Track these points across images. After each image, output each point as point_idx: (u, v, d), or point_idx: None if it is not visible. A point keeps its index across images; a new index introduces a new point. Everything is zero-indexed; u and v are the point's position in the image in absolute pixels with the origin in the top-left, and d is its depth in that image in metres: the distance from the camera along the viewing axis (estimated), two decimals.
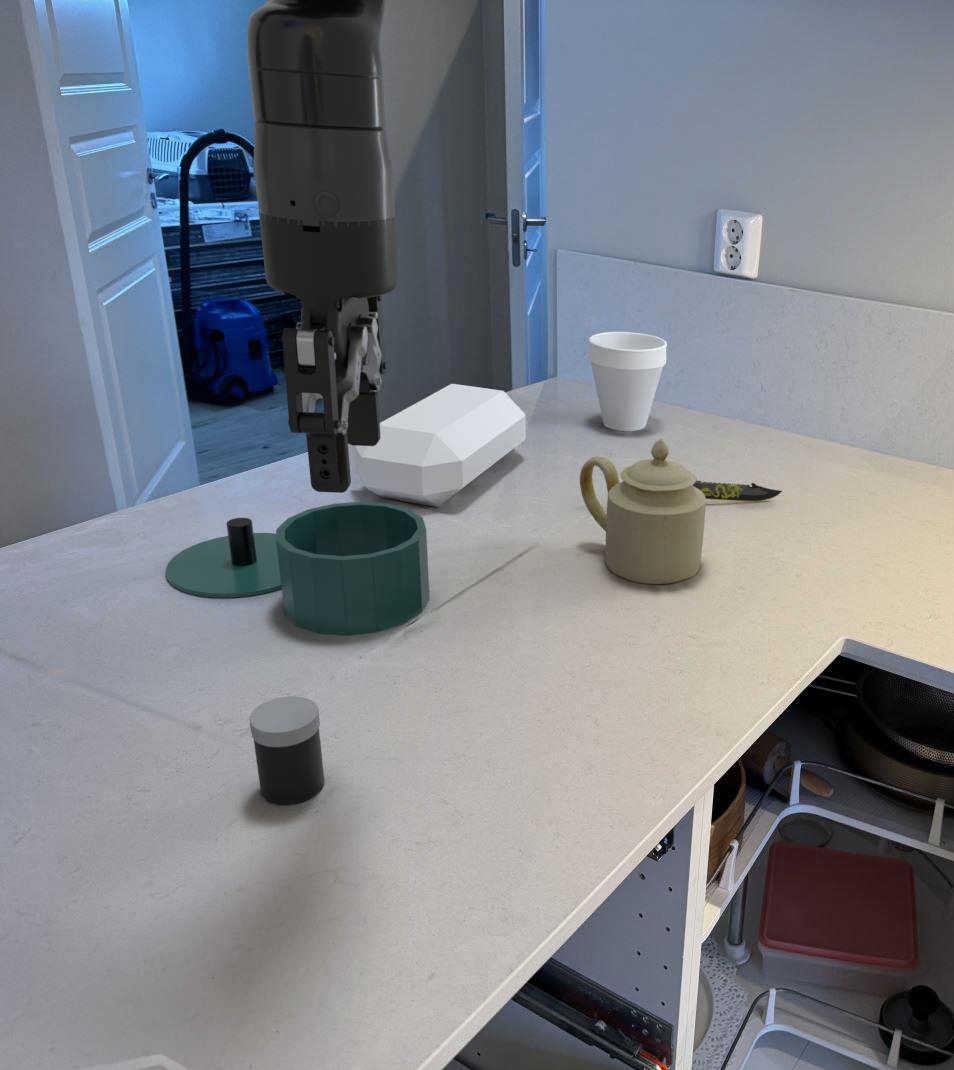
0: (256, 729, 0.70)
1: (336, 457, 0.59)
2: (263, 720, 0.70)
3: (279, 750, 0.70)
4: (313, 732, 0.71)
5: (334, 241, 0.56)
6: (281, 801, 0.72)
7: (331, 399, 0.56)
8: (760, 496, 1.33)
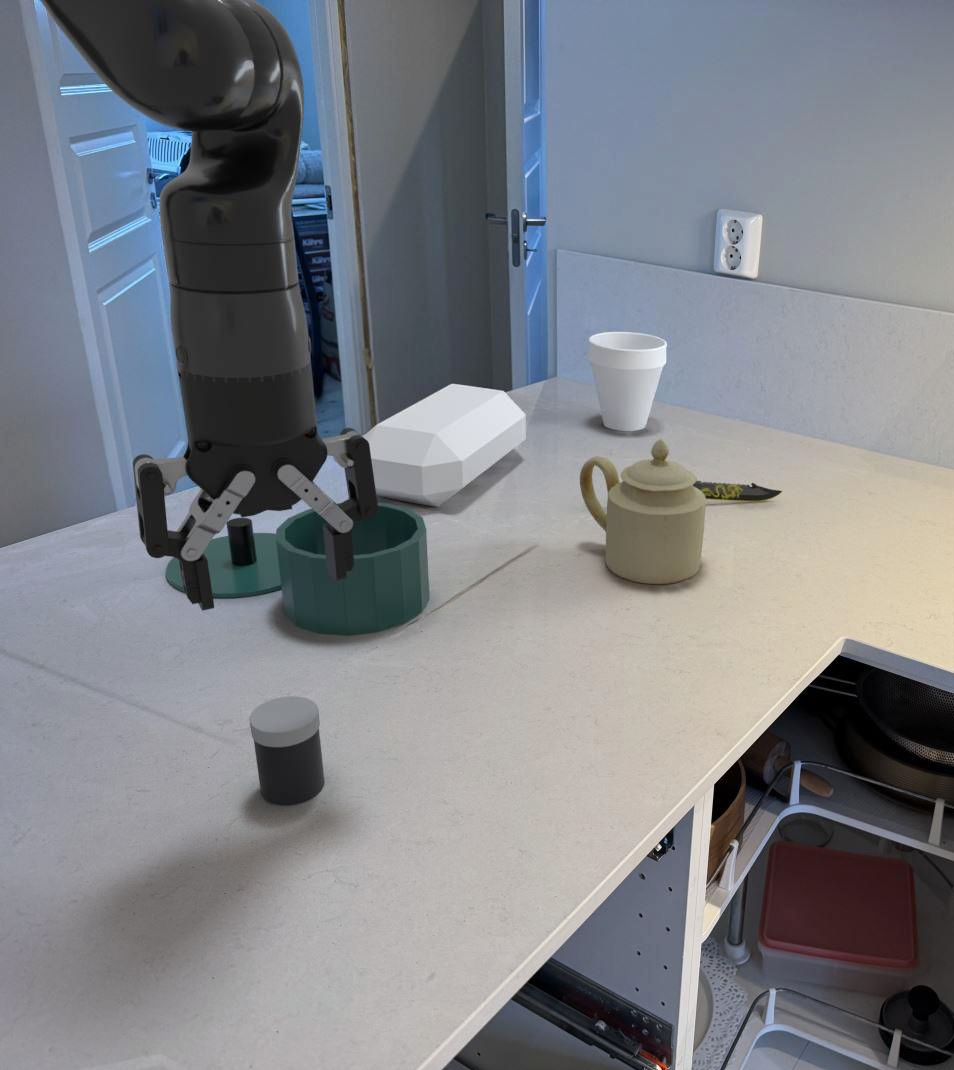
0: (256, 729, 0.70)
1: (186, 577, 0.63)
2: (263, 720, 0.70)
3: (279, 750, 0.70)
4: (313, 732, 0.71)
5: (189, 389, 0.59)
6: (281, 801, 0.72)
7: (145, 526, 0.60)
8: (760, 496, 1.33)
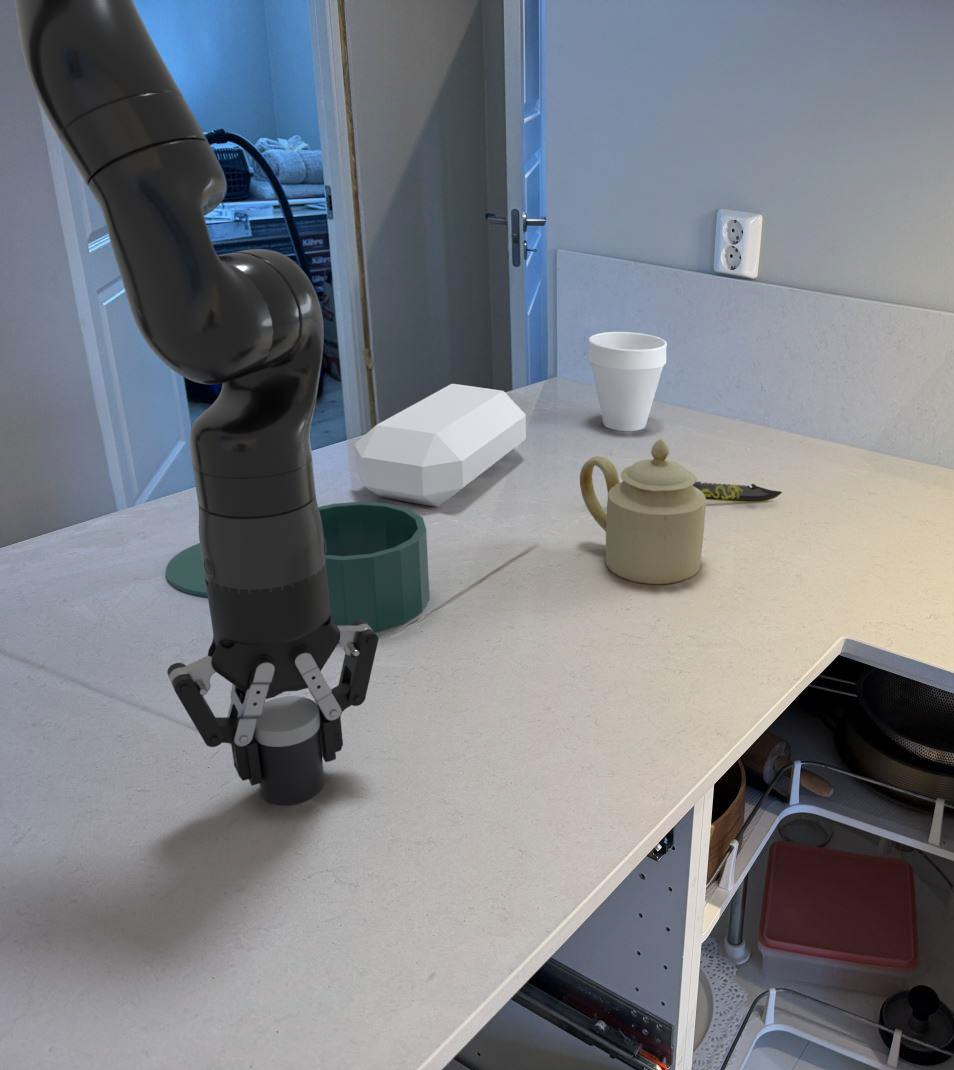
0: (256, 729, 0.70)
1: (238, 759, 0.70)
2: (264, 720, 0.70)
3: (279, 749, 0.70)
4: (313, 732, 0.71)
5: (215, 596, 0.64)
6: (281, 800, 0.72)
7: (196, 726, 0.67)
8: (760, 497, 1.33)
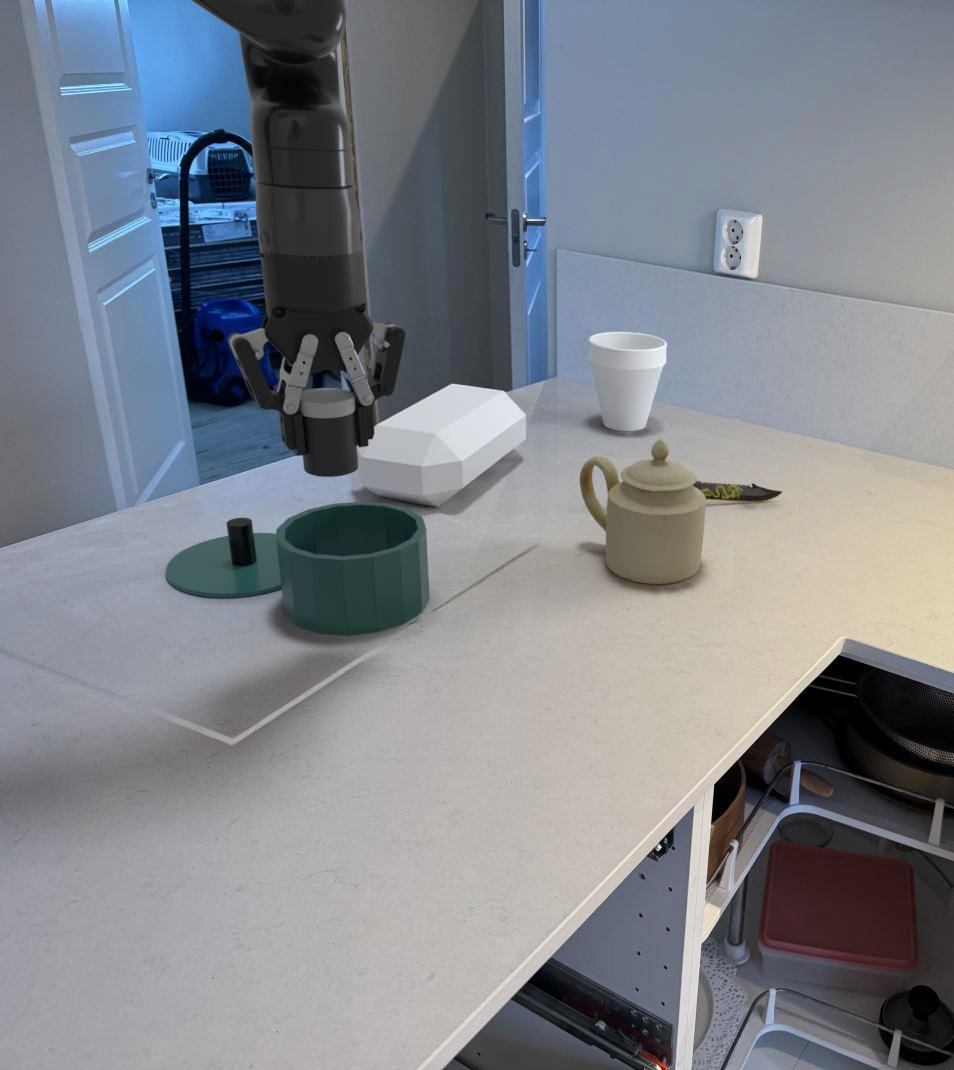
0: (301, 402, 0.81)
1: (285, 428, 0.81)
2: (307, 397, 0.82)
3: (321, 421, 0.82)
4: (350, 411, 0.83)
5: (269, 266, 0.76)
6: (322, 472, 0.83)
7: (252, 386, 0.78)
8: (760, 497, 1.33)
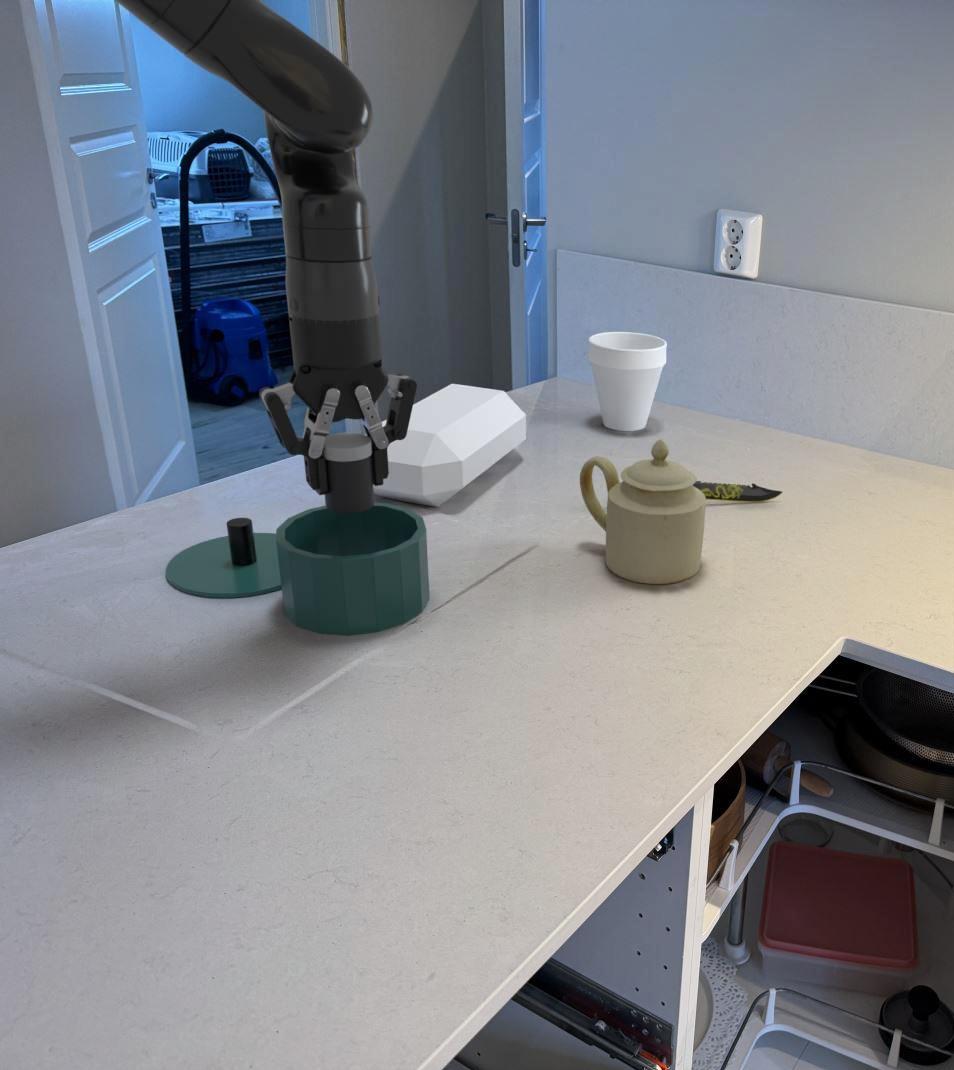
0: (324, 447, 0.91)
1: (310, 470, 0.91)
2: (329, 442, 0.91)
3: (342, 464, 0.91)
4: (367, 454, 0.92)
5: (298, 329, 0.85)
6: (342, 509, 0.93)
7: (281, 435, 0.88)
8: (760, 497, 1.33)
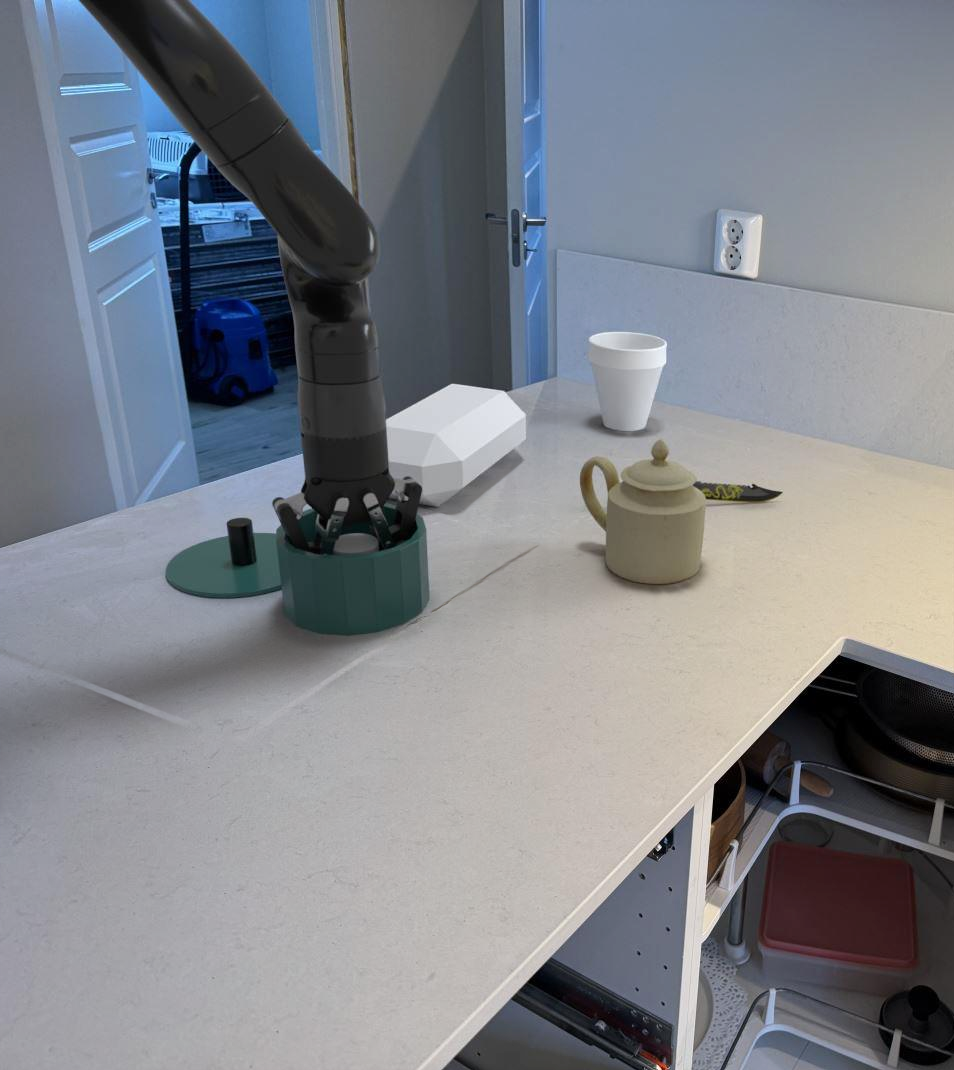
0: (334, 551, 0.95)
1: None
2: (339, 546, 0.96)
3: None
4: None
5: (309, 445, 0.89)
6: None
7: (293, 543, 0.92)
8: (761, 497, 1.33)
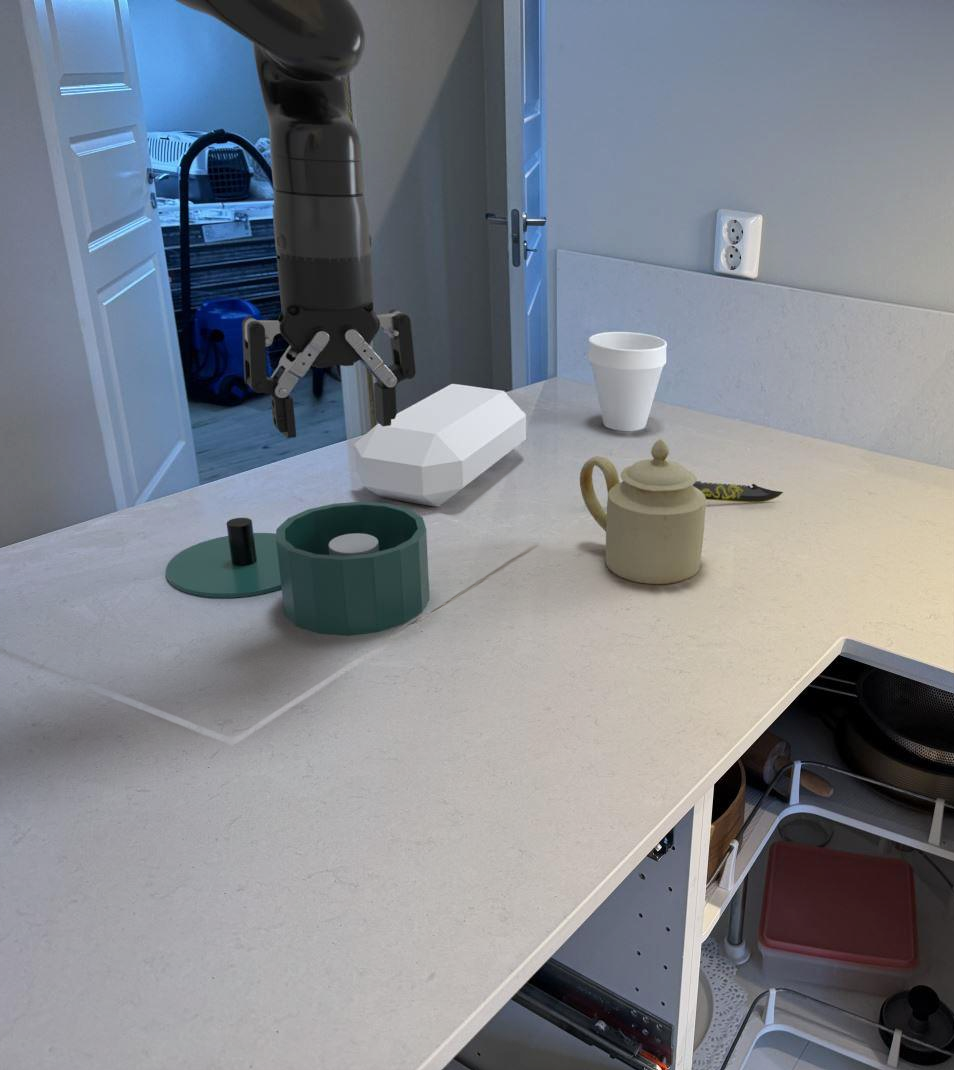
0: (334, 551, 0.95)
1: (277, 411, 0.86)
2: (338, 546, 0.96)
3: None
4: None
5: (285, 267, 0.82)
6: None
7: (251, 368, 0.83)
8: (761, 497, 1.33)
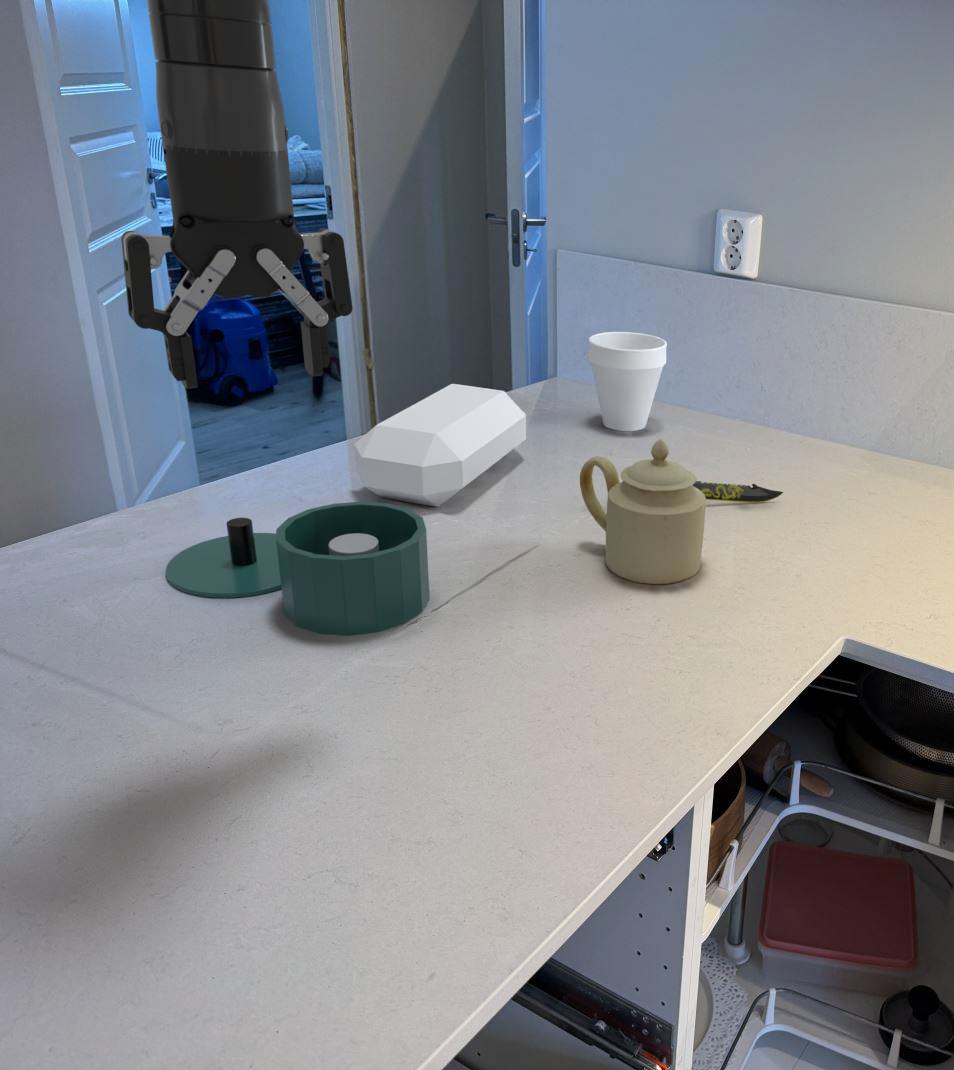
0: (334, 551, 0.95)
1: (171, 353, 0.68)
2: (338, 546, 0.96)
3: None
4: None
5: (173, 164, 0.63)
6: None
7: (133, 295, 0.65)
8: (761, 497, 1.33)
